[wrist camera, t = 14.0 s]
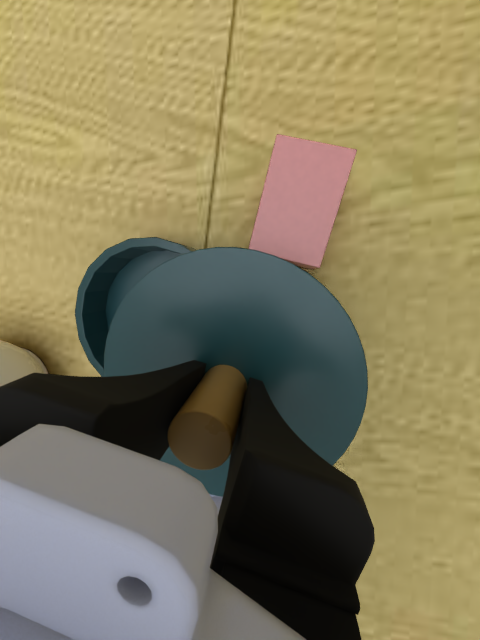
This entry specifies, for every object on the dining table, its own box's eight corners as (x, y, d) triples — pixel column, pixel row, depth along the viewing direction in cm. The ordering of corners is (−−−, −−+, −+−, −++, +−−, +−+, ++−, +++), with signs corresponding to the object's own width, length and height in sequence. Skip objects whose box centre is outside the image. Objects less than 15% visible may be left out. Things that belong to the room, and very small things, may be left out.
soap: (341, 174, 16) (357, 149, 13) (311, 269, 18) (319, 268, 14) (277, 161, 17) (276, 133, 13) (253, 254, 18) (247, 250, 15)
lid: (421, 355, 11) (538, 420, 6) (257, 521, 14) (247, 654, 9) (193, 193, 11) (127, 130, 6) (81, 392, 14) (-22, 454, 9)
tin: (271, 301, 19) (270, 306, 16) (191, 411, 22) (178, 433, 19) (143, 212, 19) (119, 200, 16) (82, 333, 22) (52, 342, 19)
